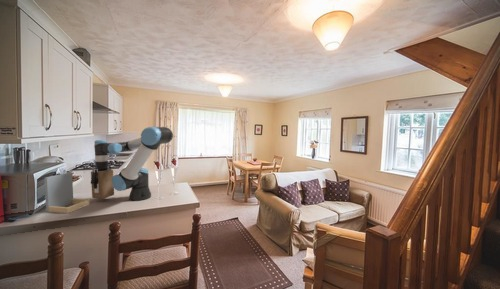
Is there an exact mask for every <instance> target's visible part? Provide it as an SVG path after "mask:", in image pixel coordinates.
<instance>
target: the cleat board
mask: <svg viewBox="0 0 500 289" xmlns="http://www.w3.org/2000/svg"><path fill="white" fill-rule="evenodd" d="M43 182H44V184H43V185H44V196H45V197H44V198H45V199H44V200H45V212H48V213H61V214H69V213H71V212H75V211H77V210H79V209H81V208H84V207H87V206H89V205H91V199H89V198H88V199H87V198H74V184H73V172H70V171H69V172H65V173H61V174H60V173H59V174H54V175H52V176H46V177H44V179H43ZM72 204H73V205H72ZM68 205H70V206H68ZM67 206H68V207H67Z"/></svg>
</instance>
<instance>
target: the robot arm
mask: <svg viewBox="0 0 500 289" xmlns="http://www.w3.org/2000/svg"><path fill="white" fill-rule="evenodd" d="M173 138H174V134H173V131H172V129H171V128H168V127H165V126H148V127H146V128H144V129H142V130H141V133H140V137H138V138H135V139H132V140H128V141H123V142H121V141H120V142H108V141H107V140H106V139H95V140H94V146H93V147H94V160H95V167H96V169H92V171H93V174H92V179H91V178H90V185H92V184H94V190H95V193H99V184H97V183H98V178H96V177H97V172H98V171H104V170H107V169H111V170H112V167H111V166H109V161H108V160H109V155H108V154H114V155H115V154H119V153H126V152H133V151H135V150H136V151H135V153H134V155H133V156H132V158H131V159H130V161H129V162H128V164H127V165H126V167H123V168H122V169H121V170H120V171H119V173H118V174H115V175H113V177H112V185H113V187H114V190H116V191H117V192H122V191H125V190H128V189H131V190H130V193H129V197H128V198H129V199H128V200H129V201H144V200H148V199H150V198H152V192H151V190H150V187H149V185H150V182H149V180H150V179H149V169H148V168H143V166H145V164H146V162H147V161H148V159H149V158H150V156H151V155H152V153H153V152H154V151H157V150H158V149H159V147H160V146H161V145H164V144H169V143H170V142H171V141H172V140H173ZM92 171H91V172H92Z"/></svg>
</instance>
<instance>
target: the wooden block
mask: <svg viewBox="0 0 500 289" xmlns="http://www.w3.org/2000/svg"><path fill="white" fill-rule="evenodd" d="M92 174H93V171H90V180H91V179H92ZM113 176H114V170H113V169H112V168H111V169H107V170H104V171H98V172H97V177H96V178H98V183H97V184H99V193H95V190H94V184H91V198H92V199H99V200H100V199H101V200H104V199H107V198H109V197H112V196H114V195H115V188H114V187H113V185H112V177H113Z"/></svg>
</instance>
